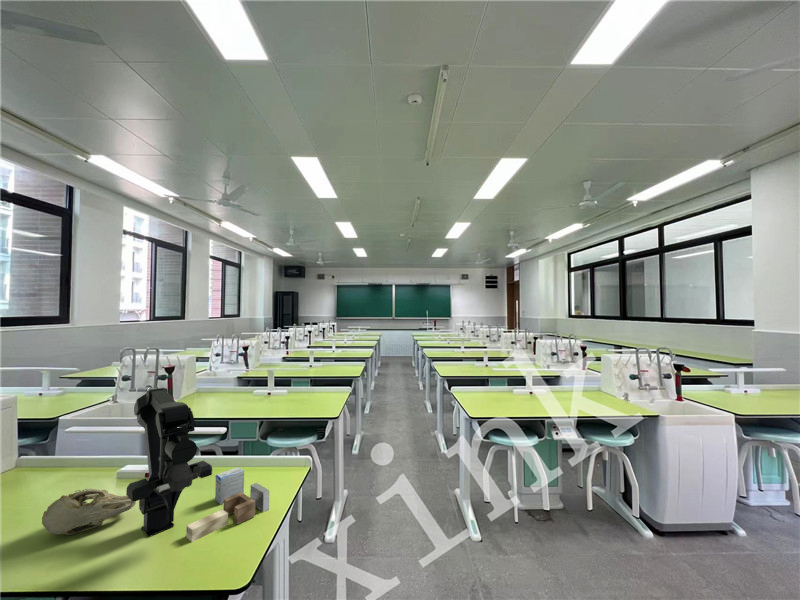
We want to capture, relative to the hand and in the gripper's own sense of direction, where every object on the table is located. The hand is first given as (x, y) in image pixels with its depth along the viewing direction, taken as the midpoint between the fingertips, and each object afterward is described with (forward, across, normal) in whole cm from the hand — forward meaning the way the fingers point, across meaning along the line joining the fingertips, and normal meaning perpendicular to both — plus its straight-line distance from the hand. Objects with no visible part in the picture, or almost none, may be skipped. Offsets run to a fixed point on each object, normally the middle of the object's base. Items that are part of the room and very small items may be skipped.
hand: (171, 511), depth 93 cm
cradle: (+9, +19, 0) cm, 21 cm away
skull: (+10, -11, +30) cm, 33 cm away
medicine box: (+10, +22, +13) cm, 27 cm away
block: (+10, +10, 0) cm, 14 cm away
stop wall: (+10, +26, 0) cm, 27 cm away
